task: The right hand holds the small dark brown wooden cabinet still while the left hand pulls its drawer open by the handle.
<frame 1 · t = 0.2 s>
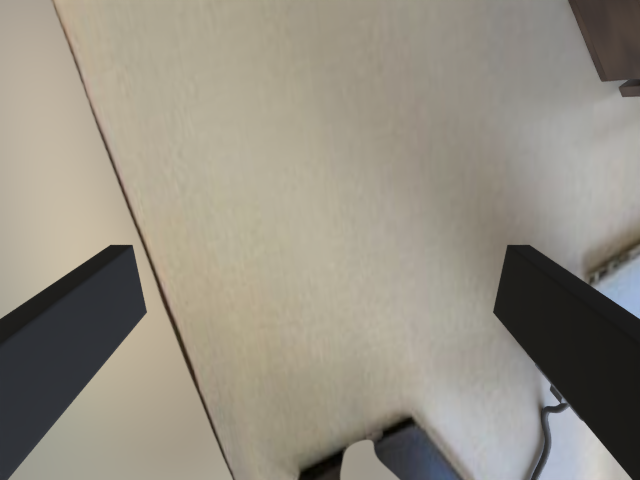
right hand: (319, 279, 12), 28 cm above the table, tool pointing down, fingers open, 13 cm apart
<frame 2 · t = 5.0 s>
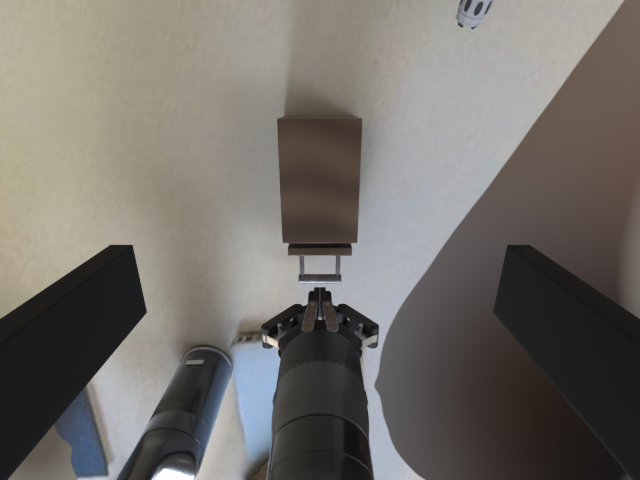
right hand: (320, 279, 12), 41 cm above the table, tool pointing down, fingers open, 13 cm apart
left hand: (320, 293, 45), fingers closed
drawer: (319, 217, 50), point 4 cm above the table, slide at 1.1 cm
cabinet: (319, 173, 52), on the table
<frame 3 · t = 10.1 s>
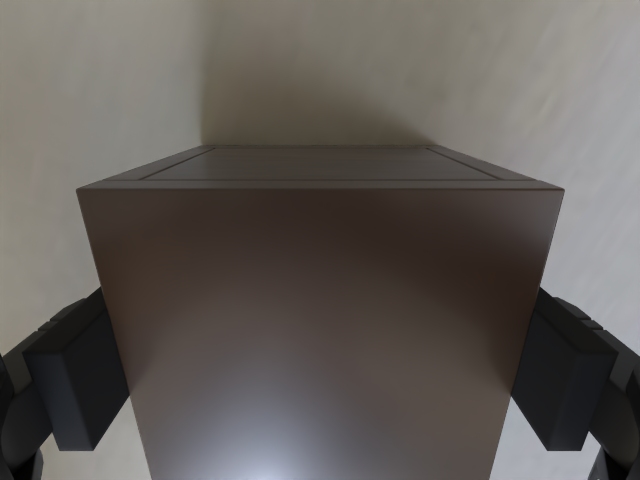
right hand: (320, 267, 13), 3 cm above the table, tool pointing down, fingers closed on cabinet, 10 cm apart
cabinet: (320, 309, 17), on the table, touching right hand
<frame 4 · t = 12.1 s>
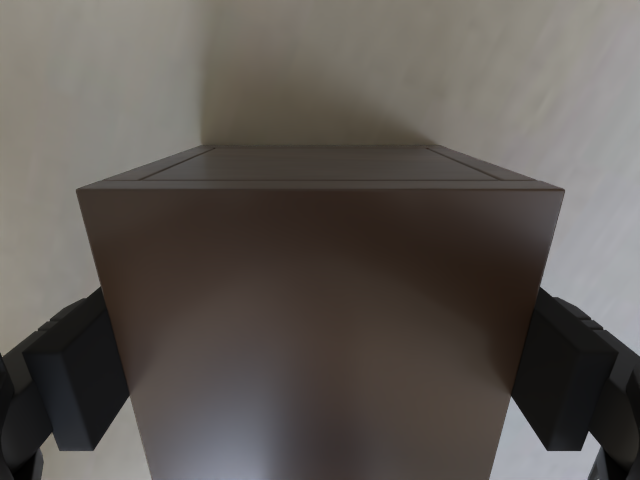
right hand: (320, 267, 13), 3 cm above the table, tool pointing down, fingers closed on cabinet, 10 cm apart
cabinet: (320, 309, 17), on the table, touching right hand
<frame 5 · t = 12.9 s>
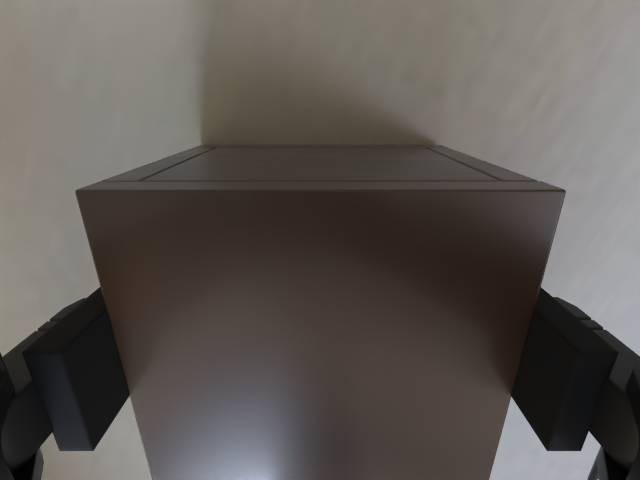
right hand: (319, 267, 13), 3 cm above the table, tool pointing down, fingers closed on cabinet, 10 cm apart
cabinet: (320, 309, 17), on the table, touching right hand
when the right hand's fingers open (3 cm above the table, at t = 15.0 s): cabinet stays where it is, on the table.
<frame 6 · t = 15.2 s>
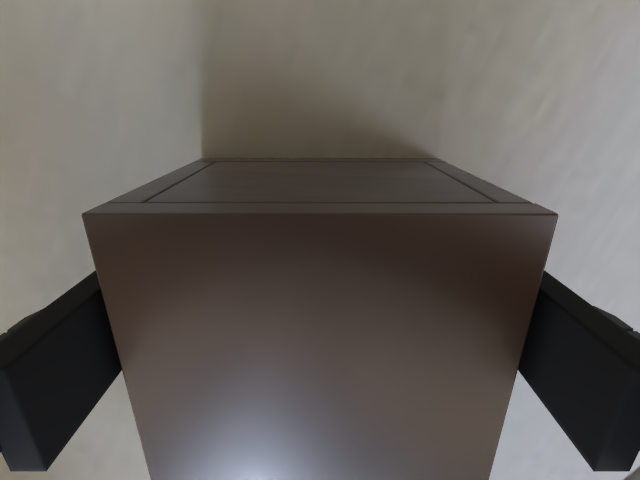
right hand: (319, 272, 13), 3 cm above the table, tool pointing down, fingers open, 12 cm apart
cabinet: (319, 318, 18), on the table
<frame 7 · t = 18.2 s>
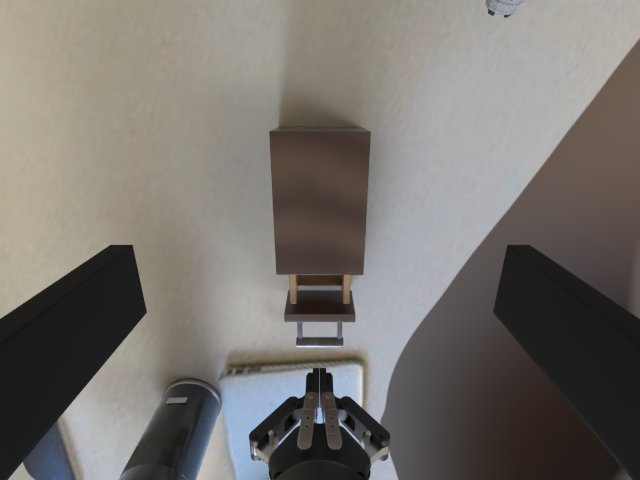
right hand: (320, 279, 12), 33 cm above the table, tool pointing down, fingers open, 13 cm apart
left hand: (319, 374, 39), fingers closed
drawer: (319, 278, 45), point 4 cm above the table, slide at 6.0 cm
cabinet: (320, 191, 45), on the table
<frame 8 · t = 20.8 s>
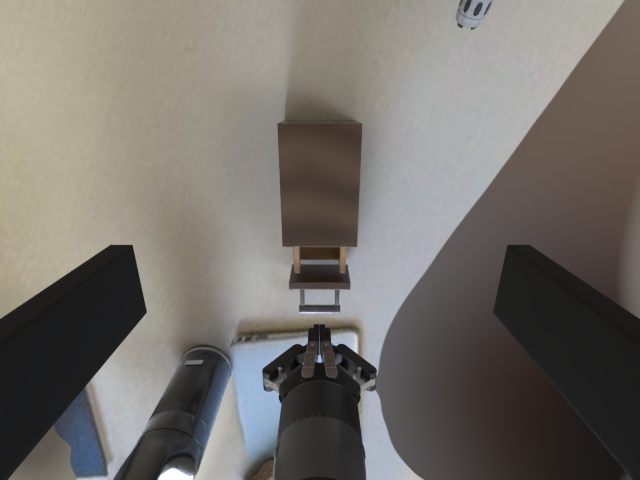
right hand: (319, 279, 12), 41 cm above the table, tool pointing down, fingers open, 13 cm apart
left hand: (319, 330, 46), fingers closed
drawer: (319, 252, 52), point 4 cm above the table, slide at 6.0 cm
cabinet: (319, 177, 52), on the table
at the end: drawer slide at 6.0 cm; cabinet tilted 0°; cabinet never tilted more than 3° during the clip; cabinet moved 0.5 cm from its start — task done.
